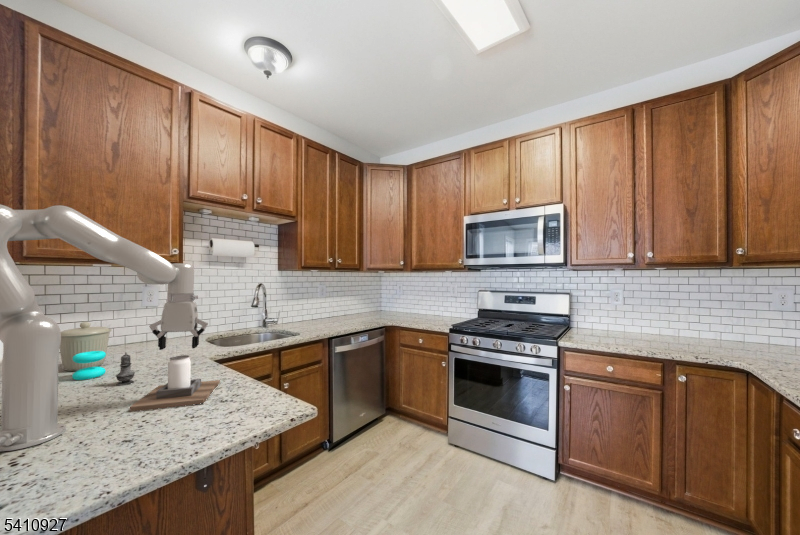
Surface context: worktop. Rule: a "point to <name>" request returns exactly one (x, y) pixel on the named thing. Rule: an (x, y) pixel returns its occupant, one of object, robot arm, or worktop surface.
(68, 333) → the canister
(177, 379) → the can
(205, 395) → the socket board
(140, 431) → the worktop surface
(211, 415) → the worktop surface
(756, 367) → the worktop surface
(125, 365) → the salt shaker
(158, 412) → the worktop surface
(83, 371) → the donuts
